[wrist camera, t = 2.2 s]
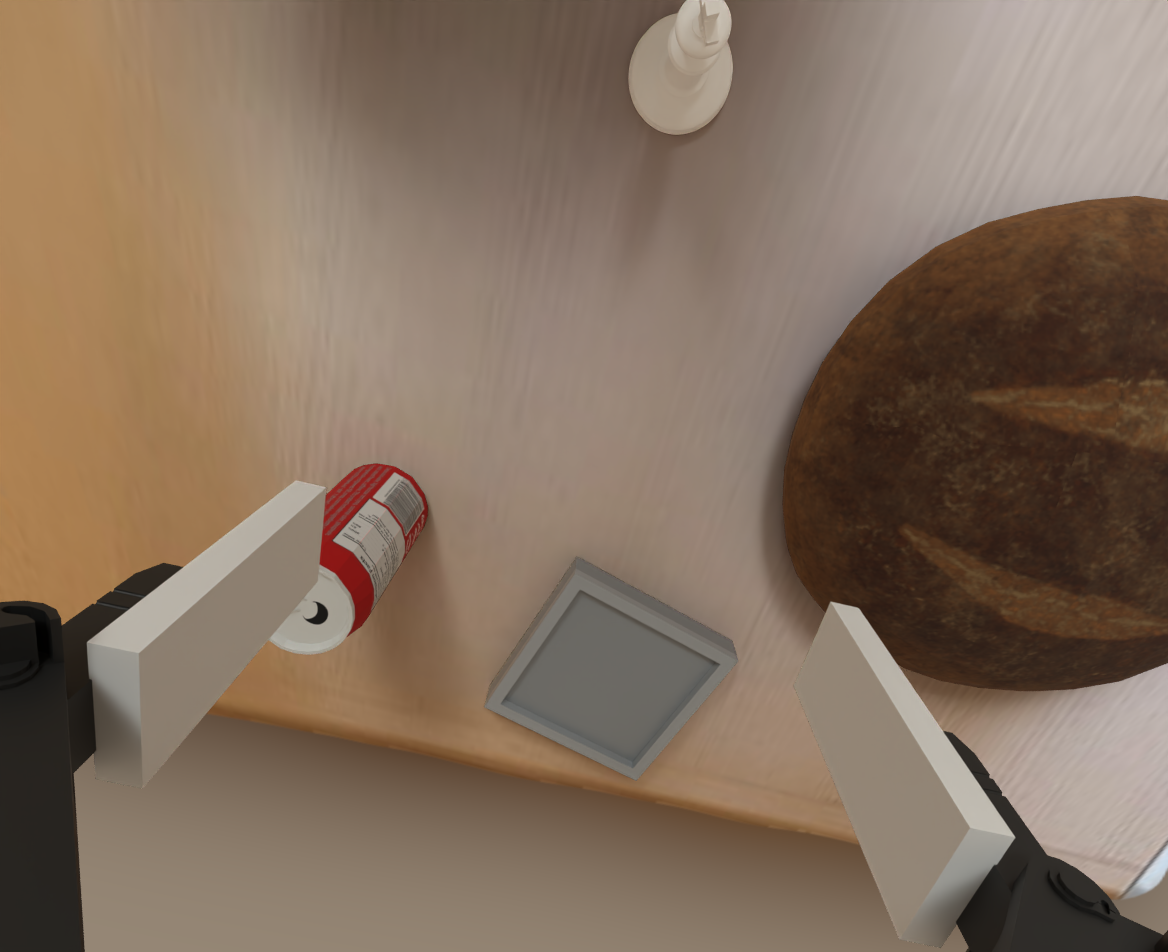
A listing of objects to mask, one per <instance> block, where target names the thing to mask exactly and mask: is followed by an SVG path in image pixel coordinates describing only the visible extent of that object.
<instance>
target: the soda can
mask: <svg viewBox="0 0 1168 952" xmlns="http://www.w3.org/2000/svg"><path fill="white" fill-rule="evenodd" d="M427 516H428V506H427V502H426V498H425V495H424V493H423V492H422V490H421V489H420V487H419V486H418V484H417V483H416V482H415V480H414V479H413V477H411V476H410V475H408V474H406V473H405V472H403V471H401V470H400V469H398V468H396V467H395V466H389V465H383V464H377V463H376V464H369V465H363V466H361V467H358V468H356V469H354V470H353V471H352V472H350V473H349V474H348V475H347V476H346V477H345V478H344V479H342V480H341V481H340V482H339V483H338V484H337V485H336V486H335V487H334V488H333V489H332V490H331V491H330V492H329V493H328V494H327V495H326V497H325V508H324V519H323V530H322V541H321V552H320V562H319V573H318V582H317V583H316V584H315V585H314V586H313V588H312V589H311V590H310V591H309V592H308V594H307V595H306V596H305V597H304V598H303V600H302V601H301V602H300V603H299V604H298V605H297V607H296V608H295V609H294V610H293V611H292V613H291V614H290V615H289V616H288V617H287V618H286V620H285V621H284V622H283V623H282V624H281V626H280V627H279V628H278V629H277V630H276V631H275V633H274V634H273V635H272V636H271V637H270V639H269V641H271V642H272V643H274V644H275V645H276V646H278V647H279V648H281V649H284V650H287V651H290V652H293V653H298V654H307V655H310V654H319V653H323V652H326V651H329V650H331V649H334V648H335V647H336V646H338V645H339V644H340V643H342V642H343V641H344V639H345V638H346V637H347V636H349V635H350V634H351V633H353V632H354V631H355V630H357V629H358V628H360V627H361V626H362V625H363V623H364V622H365V621H366V619H367V618H368V616H369V615H370V613H371V612H372V610H373V608H374V607H375V605H376V603H377V602H378V600H379V599H380V597H381V595H382V594H383V592H384V591H385V589H386V587H387V586H388V584H389V583H390V581H391V579H392V578H393V576H394V574H395V573H396V571H397V570H398V568H399V566H400V565H401V563H402V562H403V560H404V558H405V557H406V555H407V553H408V552H409V550H410V549H411V547H412V545H413V544H414V542H415V541H416V539H417V537H418V536H419V534H420V533H421V531H422V529H423V528H424V526H425V522H426V519H427Z"/></svg>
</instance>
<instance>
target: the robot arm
mask: <svg viewBox="0 0 1168 952" xmlns="http://www.w3.org/2000/svg"><path fill="white" fill-rule="evenodd" d="M325 497H326V487H323V486H318V485H314V484H310V483H305V482H301V481H294V482H293V483H292V484H290V485H289V486H288V487H286V488H285V489H284V490H283V491H281V492H280V493H279V494H277V495H276V496H275V497H274V498H272V499H271V500H270V501H268V502H267V503H266V504H265V505H263V506H262V507H261V508H259V509H258V510H257V511H255V512H254V513H253V514H252V515H250V516H249V517H248V518H246V519H245V520H244V521H243V522H241V523H240V524H239V525H237V526H236V527H235V528H234V529H232V530H231V531H230V532H228V533H227V534H226V535H225V536H223V537H222V538H221V539H219V540H218V541H217V542H215V543H214V544H213V545H212V546H210V547H209V548H208V549H206V550H205V551H204V552H203V553H201V554H200V555H199V556H197V557H196V558H195V559H194V560H192V561H191V562H190V563H188V564H187V565H186V566H185V567H180V566H176V565H171V564H166V563H162V564H160V565H157V566H154V567H151V568H149V569H146V570H143V571H141V572H138V573H135V574H134V575H133V576H131V577H130V578H128V579H127V580H125V581H124V582H123V583H121V584H120V585H118V586H117V587H116V588H114V591H113V592H111V591H110V592H109V593H107V594H106V595H104V596H103V597H101V598H100V599H99V600H97V603H96V604H92V605H90V606H89V607H87V608H86V609H85V610H83V611H82V612H80V613H79V614H78V615H76V616H75V617H73V618H72V619H70V620H69V621H68V622H66V623H65V624H63V625H62V626H61V617H60V616H59V614H58V612H57V610H56V609H54V608H52V607H50V606H48V605H46V604H44V603H38V602H30V601H12V602H0V952H85V949H84V935H83V934H84V933H83V917H82V900H81V885H80V868H79V852H78V836H77V819H76V803H75V787H74V774H73V773H74V772H75V771H76V770H77V769H78V768H79V767H80V766H81V765H82V764H83V763H84V762H85V761H86V760H87V759H88V758H89V757H90V756H91V755H92V754H93V753H94V764H95V779H97V780H102V781H107V782H112V783H117V784H122V785H127V786H132V787H137V788H142V789H143V788H144V786H145V785H146V784H147V783H148V782H149V781H150V779H151V778H152V777H153V776H154V775H155V773H156V772H157V771H158V770H159V769H160V768H161V766H162V765H163V764H164V763H165V762H166V760H167V759H168V758H169V757H170V756H171V755H172V753H173V752H174V751H175V750H176V749H177V747H178V746H179V745H180V744H181V743H182V742H183V740H184V739H185V738H186V737H187V736H188V734H189V733H190V732H191V731H192V730H193V728H194V727H195V726H196V725H197V723H198V722H199V721H200V720H201V719H202V718H203V717H204V716H205V714H206V713H207V712H208V711H209V710H210V708H211V707H212V706H213V705H214V704H215V702H216V701H217V700H218V699H219V698H220V697H221V695H222V694H223V693H224V692H225V691H226V689H227V688H228V687H229V686H230V685H231V684H232V682H233V681H234V680H235V679H236V678H237V676H238V675H239V674H240V673H241V672H242V671H243V669H244V668H245V667H246V666H247V665H248V663H249V662H250V661H251V660H252V659H253V658H254V656H255V655H256V654H257V653H258V652H259V650H260V649H261V648H262V647H263V646H264V644H265V643H266V642H267V641H268V640H269V639H270V637H271V636H272V635H273V634H274V633H275V631H276V630H277V629H278V628H279V627H280V626H281V624H282V623H283V622H284V621H285V620H286V618H287V617H288V616H289V615H290V614H291V613H292V611H293V610H294V609H295V608H296V607H297V605H298V604H299V603H300V602H301V601H302V600H303V598H304V597H305V596H306V595H307V594H308V592H309V591H310V590H311V589H312V588H313V586H314V585H315V584H316V583H317V582H318V573H319V562H320V552H321V541H322V530H323V519H324V508H325ZM794 688H795V690H796V693H797V695H798V698H799V700H800V702H801V705H802V707H803V710H804V712H805V714H806V717H807V719H808V722H809V724H810V726H811V729H812V731H813V733H814V736H815V738H816V741H817V743H818V745H819V748H820V750H821V753H822V755H823V757H824V760H825V762H826V765H827V767H828V769H829V772H830V774H831V777H832V779H833V781H834V784H835V786H836V789H837V791H838V793H839V796H840V798H841V800H842V803H843V805H844V808H845V810H846V812H847V815H848V817H849V820H850V822H851V824H852V827H853V829H854V832H855V834H856V836H857V839H858V841H859V844H860V846H861V848H862V851H863V853H864V855H865V858H866V860H867V863H868V865H869V867H870V870H871V872H872V874H873V877H874V879H875V882H876V884H877V887H878V889H879V891H880V894H881V896H882V899H883V901H884V903H885V905H886V908H887V910H888V913H889V915H890V918H891V920H892V923H893V925H894V927H895V930H896V932H897V934H898V937H899V939H900V940H904V941H909V942H914V943H919V944H924V945H929V946H934V947H939V948H941V947H942V946H943V944H944V942H945V941H946V940H947V938H948V937H949V935H950V934H951V932H952V931H953V929H954V928H955V926H956V925H958V927H959V929H960V931H961V933H962V935H963V937H964V939H965V941H966V943H967V945H968V946H969V948H968V949H967V951H966V952H1168V931H1167V932H1166V933H1165V934H1164V935H1162V934H1160V933H1157V932H1155V931H1153V930H1151V929H1149V928H1146V927H1144V926H1142V925H1140V924H1138V923H1136V922H1134V921H1131V920H1129V919H1127V918H1125V917H1123V916H1121V915H1120V913H1119V911H1118V910H1117V908H1116V907H1115V905H1114V904H1113V902H1112V901H1111V899H1110V898H1109V896H1108V895H1107V894H1106V893H1105V892H1104V891H1103V890H1102V889H1101V888H1100V887H1099V886H1098V885H1097V884H1096V883H1095V882H1094V881H1092V880H1091V879H1090V878H1089V877H1087V876H1086V875H1085V874H1083V873H1082V872H1081V871H1079V870H1078V869H1077V868H1075V867H1073V866H1071V865H1069V864H1067V863H1066V862H1064V861H1062V860H1060V859H1057V858H1054V857H1051V856H1047V854H1046V853H1045V851H1044V850H1043V849H1042V847H1041V846H1040V844H1039V843H1038V842H1037V840H1036V839H1035V837H1034V836H1033V835H1032V833H1031V832H1030V830H1029V829H1028V828H1027V826H1026V825H1025V823H1024V822H1023V821H1022V819H1021V818H1020V816H1019V815H1018V814H1017V812H1016V811H1015V809H1014V808H1013V807H1012V805H1011V804H1010V802H1009V801H1008V800H1007V798H1006V797H1004V796H1002V791H1001V790H1000V788H999V787H998V786H997V784H996V783H995V781H994V780H993V779H991V778H989V775H990V774H989V773H988V772H987V770H986V769H985V767H984V766H983V765H982V763H981V762H980V760H979V759H978V758H977V756H976V755H975V753H973V752H972V751H971V750H970V749H969V748H968V747H967V746H966V745H965V744H964V743H963V742H961V741H960V740H959V739H958V738H957V737H956V736H955V735H954V734H953V733H950V732H946V731H942V729H941V728H940V726H939V725H938V723H937V722H936V720H935V719H934V718H933V716H932V715H931V713H930V712H929V710H928V709H927V707H926V706H925V704H924V703H923V701H922V700H921V698H920V697H919V696H918V694H917V693H916V691H915V690H914V688H913V687H912V685H911V684H910V682H909V681H908V679H907V678H906V677H905V675H904V674H903V672H902V671H901V669H900V668H899V666H898V665H897V663H896V662H895V660H894V659H893V657H892V656H891V655H890V653H889V652H888V650H887V649H886V647H885V646H884V644H883V643H882V641H881V640H880V638H879V637H878V636H877V634H876V633H875V631H874V630H873V628H872V627H871V625H870V624H869V622H868V621H867V619H866V618H865V616H864V615H863V614H862V612H861V611H860V609H859V608H857V607H852V606H848V605H843V604H839V603H835V602H830V604H829V606H828V609H827V611H826V613H825V615H824V618H823V620H822V622H821V624H820V627H819V629H818V631H817V633H816V636H815V638H814V640H813V643H812V645H811V647H810V649H809V652H808V654H807V656H806V658H805V661H804V663H803V665H802V668H801V670H800V672H799V674H798V677H797V679H796V681H795V683H794Z"/></svg>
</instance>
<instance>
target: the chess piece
mask: <svg viewBox="0 0 1168 952" xmlns="http://www.w3.org/2000/svg"><path fill="white" fill-rule="evenodd" d="M730 31H731V14H730V11H729V8H728V6H727V4H726V3H725V1H724V0H686V2H685V3H684V4H683V5H682V7H681V8H680V10H679V12H678V13H675V14H671V15H669V16H666V17H664V18H662V19H660V20H659V21H657V22H656V23H655V24H653V25H652V26H651V27H650V28H649V29H648V30H647V31H646V33H645V34H644V35H643V36H642V37H641V39H640V40H639V42H638V44H637V46H636V48H635V50H634V52H633V55H632V58H631V61H630V66H629V75H628V81H629V90H630V95H631V98H632V101H633V104H634V106H635V108H636V110H637V112H638V113H639V115H640V116H641V117H642V118H643V119H644V121H645V122H647V123H648V124H649V125H650V126H651V127H653V128H655V129H656V130H658V131H661V132H663V133H667V134H674V135H681V134H687V133H691V132H694V131H696V130H698V129H700V128H702V127H704V126H705V125H706V124H708V123H709V122H710V121H711V120H712V119H713V118H714V117H715V116H716V115H717V114H718V112H719V111H720V110H721V108H722V106H723V105H724V103H725V101H726V99H727V96H728V94H729V90H730V87H731V81H732V74H733V62H732V55H731V51H730V47H729V45H728V42H727V40H728V38H729V35H730Z"/></svg>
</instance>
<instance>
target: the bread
mask: <svg viewBox="0 0 1168 952" xmlns="http://www.w3.org/2000/svg"><path fill="white" fill-rule="evenodd" d="M782 505H783V515H784V524H785V534H786V541H787V546H788V550H789V553H790V556H791V559H792V562H793V565H794V568H795V571H796V573H797V575H798V576H799V578H800V580H801V581H802V583H803V584H804V586H805V587H806V589H807V590H808V591H809V593H810V594H811V596H812V597H813V598H814V600H815V601H816V602H817V603H818V604H819V606H820V607H821V608H822V609H823V610H824V611H825V612H826V611H827V609H828V606H829V604H830V602H835V603H839V604H843V605H848V606H852V607H857V608H859V609H860V611H861V612H862V614H863V615H864V616H865V618H866V619H867V621H868V622H869V624H870V625H871V627H872V628H873V630H874V631H875V633H876V634H877V636H878V637H879V638H880V640H881V641H882V643H883V644H884V646H885V647H886V649H887V650H888V652H889V653H890V655H891V656H892V657H893V659H894V660H895V662H896V663H897V664H898V665H900V666H902V667H903V668H905V669H908V670H911V671H914V672H917V673H920V674H923V675H926V676H929V677H932V678H935V679H938V680H941V681H946V682H951V683H957V684H962V685H968V686H973V687H978V688H989V689H1002V690H1014V691H1046V690H1067V689H1077V688H1083V687H1089V686H1095V685H1101V684H1107V683H1113V682H1119V681H1122V680H1124V679H1127V678H1130V677H1132V676H1135V675H1138V674H1140V673H1143V672H1145V671H1148V670H1151V669H1153V668H1156V667H1159V666H1161V665H1164V664H1167V663H1168V200H1161V199H1154V198H1147V197H1140V196H1132V197H1120V198H1108V199H1096V200H1085V201H1080V202H1075V203H1069V204H1064V205H1058V206H1053V207H1047V208H1042V209H1037V210H1033V211H1029V212H1026V213H1022V214H1018V215H1014V216H1011V217H1007V218H1003V219H999V220H996V221H992V222H988V223H986V224H984V225H982V226H979V227H977V228H975V229H973V230H971V231H969V232H967V233H964V234H962V235H960V236H958V237H956V238H954V239H952V240H949V241H947V242H945V243H943V244H941V245H939V246H937V247H935V248H934V249H932V250H931V251H930V252H928V253H927V254H925V255H924V256H923V257H921V258H920V259H919V260H917V261H916V262H914V263H913V264H912V265H910V266H909V267H908V268H906V269H905V270H903V271H902V272H901V273H899V274H898V275H897V276H895V277H894V278H892V279H891V280H890V281H889V282H888V283H887V284H886V285H885V286H884V287H883V288H882V289H881V290H880V291H879V292H878V293H877V294H876V295H875V296H874V297H873V299H872V300H871V301H870V302H869V303H868V304H867V305H866V306H865V307H864V308H863V309H862V310H861V311H860V312H859V313H858V314H857V315H856V317H855V318H854V319H853V320H852V321H851V322H850V323H849V325H848V326H847V328H846V329H845V331H844V332H843V334H842V335H841V336H840V338H839V339H838V341H837V342H836V344H835V345H834V346H833V348H832V349H831V351H830V352H829V354H828V355H827V356H826V358H825V359H824V361H823V362H822V365H821V367H820V369H819V371H818V373H817V375H816V377H815V379H814V381H813V383H812V385H811V387H810V389H809V392H808V394H807V396H806V398H805V400H804V403H803V406H802V408H801V411H800V414H799V417H798V420H797V423H796V425H795V428H794V431H793V434H792V438H791V442H790V447H789V451H788V456H787V460H786V464H785V469H784V484H783V504H782Z"/></svg>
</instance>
